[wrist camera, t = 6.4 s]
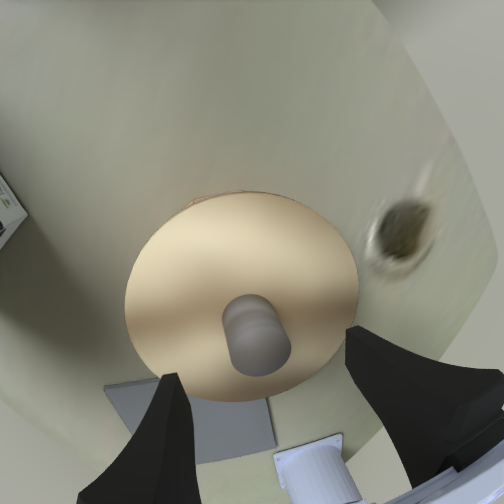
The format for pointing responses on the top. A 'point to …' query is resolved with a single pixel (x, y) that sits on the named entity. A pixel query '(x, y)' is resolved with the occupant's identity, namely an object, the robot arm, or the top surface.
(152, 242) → the oak lid
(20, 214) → the tea box
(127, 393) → the rubber mat
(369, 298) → the top surface
